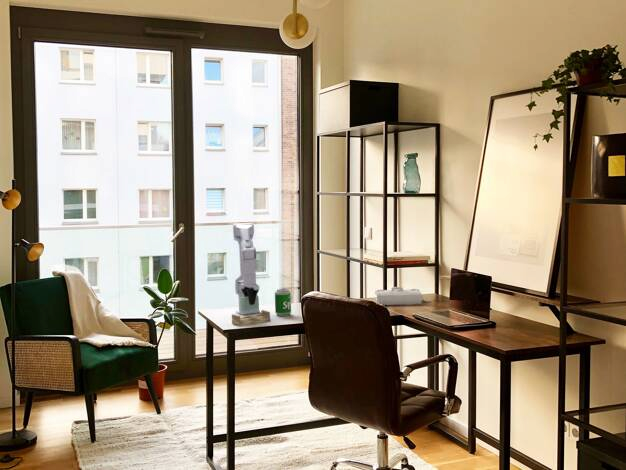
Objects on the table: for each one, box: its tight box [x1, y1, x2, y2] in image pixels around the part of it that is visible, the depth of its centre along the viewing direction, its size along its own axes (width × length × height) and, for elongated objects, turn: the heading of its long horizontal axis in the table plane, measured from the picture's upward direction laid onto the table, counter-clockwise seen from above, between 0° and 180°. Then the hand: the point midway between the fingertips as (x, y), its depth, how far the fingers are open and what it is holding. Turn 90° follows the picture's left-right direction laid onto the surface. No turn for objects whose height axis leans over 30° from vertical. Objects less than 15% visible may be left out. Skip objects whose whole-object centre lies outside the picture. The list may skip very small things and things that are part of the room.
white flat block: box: [374, 286, 431, 306], centre depth 363 cm, size 19×28×8 cm
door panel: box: [240, 295, 260, 311], centre depth 323 cm, size 8×3×6 cm, turn 123°
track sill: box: [231, 309, 271, 327], centre depth 324 cm, size 16×6×4 cm, turn 123°
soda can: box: [274, 288, 292, 317], centre depth 338 cm, size 8×8×12 cm
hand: (250, 304), depth 323 cm, fingers closed on door panel, 3 cm apart
